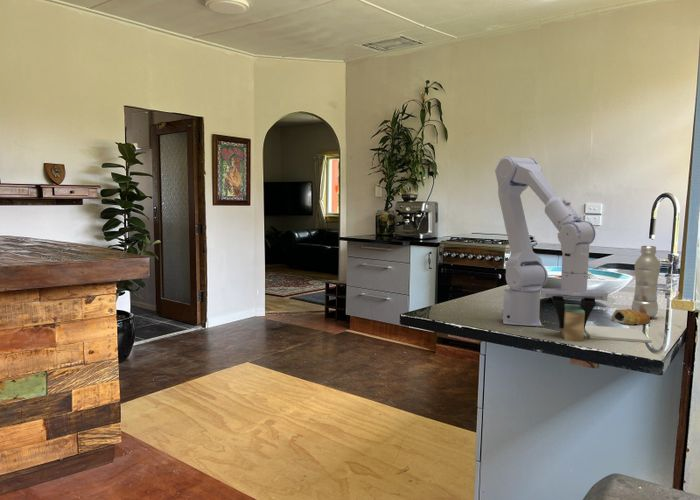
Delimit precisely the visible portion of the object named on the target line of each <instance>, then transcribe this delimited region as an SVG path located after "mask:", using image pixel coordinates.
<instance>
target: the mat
mask: <svg viewBox="0 0 700 500" xmlns="http://www.w3.org/2000/svg"><path fill="white" fill-rule="evenodd" d="M584 332H585V333H586V335H587V336H588V338H589V339H591V340H592V339H593V340H605V339H606V340H607V341H618V342H619V341H621V342H637V343H648V344H649V343H650V344H651V343H652V339H651V338H650V337H649V336H647V335H646V334H645V333H644V332H642V330H640V329H639V328H628V327H616V326H615V327H614V326H601V325H599V326H598V325H585V330H584Z"/></svg>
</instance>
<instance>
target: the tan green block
mask: <svg viewBox="0 0 700 500" xmlns="http://www.w3.org/2000/svg"><path fill="white" fill-rule="evenodd" d="M584 318H585V311H584V310H583V309H582V308H581V304H572V303H569V304H568V303H565V306H564V327H563V329H561V328H560V327H559V329H560V330H559V332H560V335H561V336H562V337H564V338H563V340H565V341H574V340H576V341H577V342H584V334H585V333H584V332H585V331H584ZM576 341H575V342H576Z"/></svg>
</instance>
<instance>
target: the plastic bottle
mask: <svg viewBox="0 0 700 500" xmlns="http://www.w3.org/2000/svg"><path fill="white" fill-rule="evenodd" d="M640 253H641V254H640V256H639V257H638V258H637V259H636V260H635V263H634V276H635V283H634V286H635V289H634V295H633V299H632V304H631V310H635V311H638V312H642V313H645V314H646V315H648V316H650V318H655V317H656V316H657V315H658V310H659V304H658V297H657V296H658V295H657V293H658V291H657V289H658V283H659V282H658V281H659V276H660V272H661V267H662V266H661V262H660V261H659V258H658V257H657V256H656V254H657V247H656V246H654V245H642V246H640Z"/></svg>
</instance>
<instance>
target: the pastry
mask: <svg viewBox="0 0 700 500" xmlns="http://www.w3.org/2000/svg"><path fill="white" fill-rule="evenodd" d="M611 320H612V322H614V323H617V322H618V323H619V324H622V325H626V326H634V325H637V326H641V325H648V324H650V322H651V317H650V316H648V315H646V314H645V313H642V312H638V311H635V310H632V308H626V309H624V308H623V309H616V310H615V311H613V313H612V315H611Z"/></svg>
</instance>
